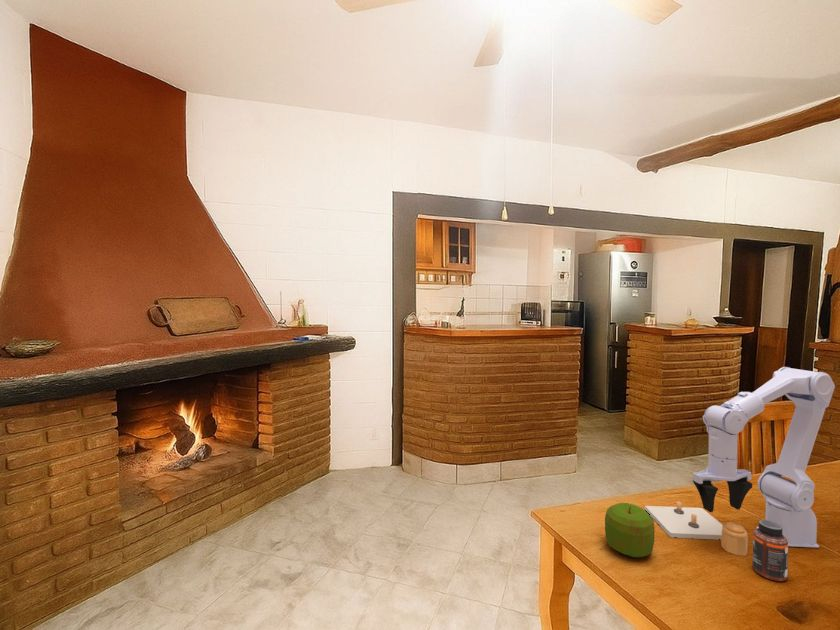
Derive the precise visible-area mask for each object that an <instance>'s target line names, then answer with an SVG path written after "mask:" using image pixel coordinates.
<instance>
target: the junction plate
mask: <svg viewBox="0 0 840 630" xmlns="http://www.w3.org/2000/svg"><path fill="white" fill-rule="evenodd" d="M682 505H683V503H682V501H680V500H677V501H676V506H661V505H659V506H658V505H644V510H646V511H647V512H648V513H649V514H650V517H651V518H652V519H653V521H654V522H655V523H656V522H657V523H658V524H659V525H660V526H659V525H658V524H657V523H656V524H657V525H658V526H659V527H660V528H661V529H662V530H663V531H664V532H665V533H666V534H667V535H668V537H669V536H670V537H671V538H674V537H677V538H676V539H692V538H693V539H696V540H698V539H699V540H717V541H718V540H719V539H720V540H719V541H721V538H722V526H723V525H724V524H722V523H721V522H719V520H718V519H717V518H715V517H714V516H713V515H711V514H710V512H709V513H708V511H707V510H706V509H704V508H702V507H689V506H688V507H685V506H683V507H682ZM670 537H669V538H670ZM674 539H675V538H674Z"/></svg>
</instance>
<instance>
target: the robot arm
mask: <svg viewBox="0 0 840 630" xmlns="http://www.w3.org/2000/svg"><path fill="white" fill-rule="evenodd" d="M835 387H836V385H835V383H834V381H833V379H832V377H831V376H830V374H828V373H826V372H824V371H819V372H818V371H813V370H812V371H811V370H805V369H798V368H791V367H789V366H782V367H781V368H779V369H778V370H775V371H773V373H772V378H771V379H769V380H768V381H767V382H765V383H764V384H763V385H761V386H760V387H758V388H756V390H754V391H752V392H751V391H740V392H738V393H737V395H736V396H734V397H733V398H730V399H729V400H728V401H724V402H723V403H722V404H720V405H711V406H709V407H707V408H706V410H705V411H704V414H703V415H702V420H703V423H704V424H705V426H706V432H707V433H708V459H707V460H708V461H707V462H708V463H707V465H708V466H706V467H705V469H703V470H700V471H697V472H693V473H692V482H693V484H694V486H695V487H696V490H697V492H698V493H699V496H700V499H701V504H702V507H703V509H704V510H705V511H706V512H709V513H713V512H714V508H715V498H716V494H717V492H718V490H719V488H718V487H716V486H715V485H713V482H723V481H725V482H726V483H727V487H728V492H729V493H728V497H729V498H728V500H729V505H730V507H732V508H734V509H735V510H737V511H740V509H741V507H742V505H743V502H744V500H745V497H746V495H747V494H748V493H749V491H750V490H751V489H752V488H753V483H752V482H750V481H751V480H752V472H751V471H749V470H747V469H744V468H742V469H741V468H740V469H738V434H739V433H741V432H742V431H743V430H744V428H745V425H746V424H748V422H749V420H751V419H752V418H754V417H756V416H757V415H759V414H760V413H762V412H763V411H764V410H765V405H766V404H768V403H770V402H772V401H774V400H776V399H778V398H780V397H782V396H786V397H787V399H788V400H790V401H792V403H793V404H794V405H795V408H794V412H793V414H792V417H791V419H790V420H791V421H790V424H789V425H788V426H789V427H788V430H787V433H786V436H785V440H784V442H783V445H782V448H781V451H780V454H779V457H778V460H777V462H775V463H771V464H769V465H766V466H765V468H764V470H763V472H762V474H761V475H760V476H759V477H758V480H757V489H758V491H759V493H761V494H762V498H763V499H764V500H765V519H764V520H768V521H772V522H775V523H777V524H779V525H781V526H782V532H783V533H782V535H784V536H785V537H786V539H787V541H788V547H795V548H820V545H819V544H817V536H818V535H817V533H818V532H817V531H818V530H817V529H818V528H817V527H818V519H817V517H816V514H815V513H814V511H813V509H811V507H812V506H813V504H814V501H815V495H814V492H815V487H816V484H815V483H814V482H813V480H812V479H811V478H810V477H809V475H807V474H806V469H807V467H808V464H809V461H810V458H811V456H812V455H811V454H812V452H813V449H814V445H815V443H816V438H817V436H818V432H819V430H820V427H821V424H822V420H823V419H824V418H823V417H824V415H825V411H826V408H829V405H830V402H831V400H832V397H833V393H834V391H835ZM757 528H759V526H756V528H755V529H757Z"/></svg>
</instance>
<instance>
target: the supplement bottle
mask: <svg viewBox="0 0 840 630" xmlns="http://www.w3.org/2000/svg"><path fill="white" fill-rule="evenodd" d="M758 527H759V528H757V529H756V528H755V529H754V530H753V531H752V534H753V535H752V536H753V537H752V568H753V570H754V571H755V572H756V573H757V574H759V576H762V577H763V578H765V579H768V580H771V581H775V582H785V581H786V580H788V574H789V573H788V568H789V567H788V566H789V562H788V560H789V559H788V558H789V546H788V541H787V539H786V537H785V536H784V535H782V533H783V532H782V526H781V525H779V524H777V523H775V522H772V521H768V520H765V519H761V520H759V521H758Z"/></svg>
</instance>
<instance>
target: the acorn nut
mask: <svg viewBox="0 0 840 630" xmlns="http://www.w3.org/2000/svg"><path fill="white" fill-rule="evenodd" d="M722 525H723V526H722V538H721V540H720V541H721V546H720V547H721V548H722V549H724V550H725V551H726V552H728V553H729V554H732V555H735V556H744V557H745V556H747V554H748V551H749V550H748V548H749V547H748V546H749V544H748V543H749V541H748V540H749V536H748V531H747V530H746V529H745V527H743V526H742V525H741V524H738V523H735V522H726V523H725V524H722Z"/></svg>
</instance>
